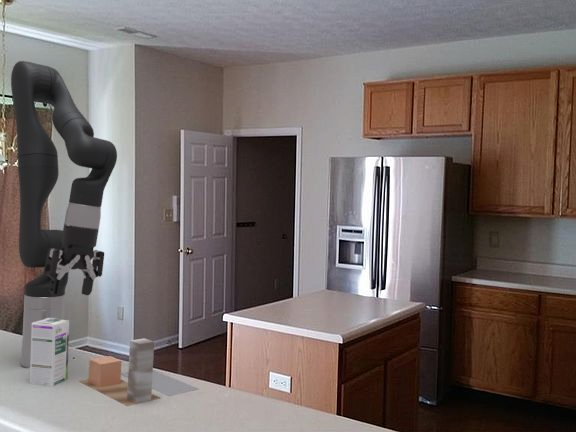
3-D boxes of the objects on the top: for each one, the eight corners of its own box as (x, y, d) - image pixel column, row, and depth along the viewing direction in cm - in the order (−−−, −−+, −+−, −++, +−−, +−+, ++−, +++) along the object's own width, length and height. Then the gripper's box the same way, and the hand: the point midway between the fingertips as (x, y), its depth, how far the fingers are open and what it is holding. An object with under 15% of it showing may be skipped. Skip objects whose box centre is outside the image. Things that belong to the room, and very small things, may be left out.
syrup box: (52, 391, 126) (55, 323, 126) (28, 388, 127) (31, 321, 127) (67, 383, 132) (70, 319, 132) (44, 380, 133) (47, 316, 133)
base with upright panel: (78, 385, 131) (81, 327, 130) (111, 379, 136) (113, 323, 136) (126, 410, 117) (130, 345, 117) (160, 402, 123) (164, 340, 122)
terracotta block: (88, 381, 131) (89, 359, 130) (108, 377, 134) (109, 355, 134) (99, 387, 127) (100, 364, 127) (120, 383, 131) (121, 360, 131)
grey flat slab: (118, 377, 138) (119, 367, 138) (148, 372, 144) (148, 361, 144) (168, 400, 124) (169, 388, 124) (199, 393, 130) (199, 382, 130)
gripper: (95, 224, 142) (84, 291, 141) (44, 219, 129) (32, 292, 129) (117, 229, 138) (106, 297, 138) (66, 224, 126) (54, 299, 125)
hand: (70, 295), depth 133 cm, fingers open, 8 cm apart
